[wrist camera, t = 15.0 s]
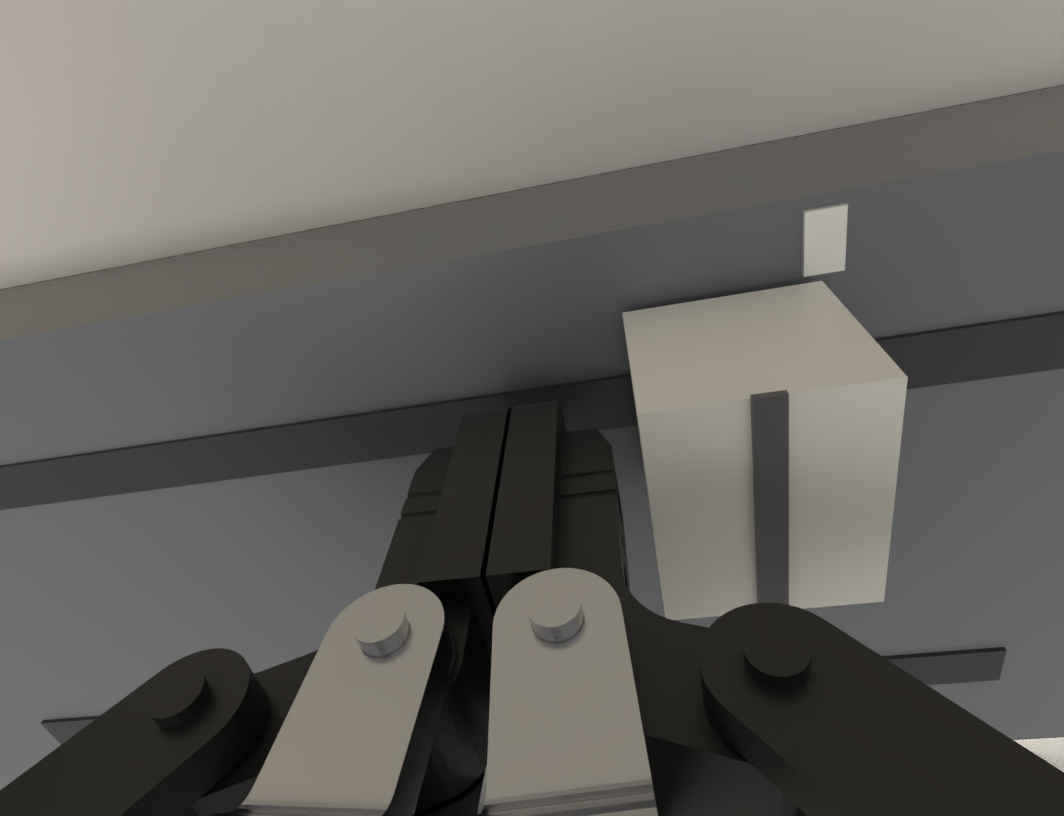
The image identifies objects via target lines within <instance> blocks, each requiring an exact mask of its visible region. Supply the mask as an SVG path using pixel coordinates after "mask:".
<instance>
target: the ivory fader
mask: <svg viewBox="0 0 1064 816" xmlns="http://www.w3.org/2000/svg"><path fill="white" fill-rule="evenodd" d="M622 315H623V322H624V329H625V336H626V344H627V351H628V358H629V365H630V373H631V380H632V387H633V394H634V401H635V409H636V416H637V423H638V430H639V437H640V445H641V452H642V459H643V466H644V473H645V481H646V488H647V495H648V502H649V509H650V516H651V523H652V529H653V536H654V543H655V550H656V557H657V564H658V571H659V578H660V585H661V592H662V599H663V606H664V612H665V618H668V619H671V620H680V619H692V618H703V617H715V616H722V615H723V614H725V613H726V612H728V611H731V610H733V609H735V608H737V607H741V606H744V605H748V604H754V603H780V604H787V605H791V606H795V607H799V608H802V609H806V608H817V607H828V606H840V605H851V604H862V603H874V602H884V597H885V587H886V578H887V568H888V559H889V550H890V540H891V531H892V521H893V512H894V503H895V493H896V484H897V474H898V465H899V455H900V446H901V437H902V427H903V418H904V408H905V399H906V389H907V380H908V377H907V376H906V375H905V373H904V372H903V371H902V370H901V369H900V368H899V367H898V366H897V364H896V363H895V362H894V361H893V360H892V359H891V358H890V357H889V355H888V354H887V353H886V352H885V351H884V350H883V349H882V348H881V346H880V345H879V344H878V343H877V342H876V341H875V340H874V339H873V337H872V336H871V335H870V334H869V333H868V332H867V331H866V330H865V328H864V327H863V326H862V325H861V324H860V323H859V322H858V321H857V319H856V318H855V317H854V316H853V315H852V314H851V313H850V312H849V310H848V309H847V308H846V307H845V306H844V305H843V304H842V303H841V301H840V300H839V299H838V298H837V297H836V296H835V295H834V294H833V292H832V291H831V290H830V289H829V288H828V287H827V286H826V285H825V283H824V282H823V281H817V282H811V283H805V284H798V285H792V286H786V287H780V288H773V289H767V290H761V291H754V292H748V293H742V294H736V295H729V296H723V297H717V298H711V299H704V300H698V301H692V302H686V303H679V304H673V305H667V306H661V307H654V308H648V309H642V310H635V311H629V312H623V313H622Z"/></svg>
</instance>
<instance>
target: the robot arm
mask: <svg viewBox="0 0 1064 816" xmlns="http://www.w3.org/2000/svg"><path fill="white" fill-rule="evenodd" d="M407 496H408V499H406V500H405V502H404V505H403V508H402V511H401V519H399V520H398V523H397V526H396V529H395V532H394V535H393V538H392V541H391V544H390V546H389V549H388V552H387V555H386V558H385V561H384V564H383V567H382V570H381V573H380V576H379V579H378V582H377V585H376V588H375V590H374V591H371V592H369V593H367V594H365V595H363V596H362V597H360V598H358V599H357V600H355V601H354V602H352V603H351V604H350V605H349V606H347V607H346V608H345V609H344V610H343V611H342V612H341V613H340V614H339V615H338V616H337V617H336V619H335V620H334V621H333V623H332V624H331V626H330V627H329V629H328V631H327V633H326V635H325V637H324V639H323V641H322V643H321V645H320V647H319V649H318V650H316V651H314V652H311V653H309V654H307V655H304V656H301V657H298V658H296V659H293V660H290V661H288V662H285V663H282V664H279V665H277V666H274V667H271V668H268V669H266V670H263V671H260V672H257V673H255V674H254V673H253V671H252V670H251V668H250V667H249V665H248V663H247V662H246V660H245V659H244V658H243V656H241V655H240V654H239V653H237V652H235V651H233V650H230V649H223V648H215V649H207V650H202V651H199V652H196V653H193V654H190V655H188V656H185V657H183V658H181V659H179V660H177V661H175V662H174V663H172V664H170V665H168V666H167V667H166V668H164V669H163V670H161V671H160V672H158V673H157V674H156V675H154V676H153V677H152V678H150V679H149V680H147V681H146V682H145V683H143V684H142V685H141V686H139V687H138V688H137V689H135V690H134V691H133V692H131V693H130V694H129V695H127V696H126V697H125V698H123V699H122V700H121V701H119V702H118V703H117V704H115V705H114V706H113V707H111V708H110V709H109V710H107V711H106V712H105V713H103V714H102V715H101V716H99V717H98V718H97V719H95V720H94V721H92V722H91V723H90V724H88V725H87V726H86V727H84V728H83V729H82V730H80V731H79V732H78V733H76V734H75V735H74V736H72V737H71V738H70V739H68V740H67V741H66V742H64V743H63V744H62V745H60V746H59V747H58V748H56V749H55V750H54V751H52V752H51V753H50V754H48V755H47V756H46V757H44V758H43V759H42V760H40V761H39V762H38V763H36V764H35V765H33V766H32V767H31V768H29V769H28V770H27V771H25V772H24V773H23V774H21V775H20V776H19V777H17V778H16V779H15V780H13V781H12V782H11V783H9V784H8V785H7V786H5V787H4V788H3V789H1V790H0V816H1064V773H1063V772H1062V771H1060V770H1059V769H1057V768H1056V767H1054V766H1053V765H1051V764H1049V763H1048V762H1046V761H1045V760H1043V759H1042V758H1040V757H1038V756H1037V755H1035V754H1034V753H1032V752H1031V751H1029V750H1028V749H1026V748H1024V747H1023V746H1021V745H1020V744H1018V743H1017V742H1015V741H1013V740H1012V739H1010V738H1009V737H1007V736H1006V735H1004V734H1003V733H1001V732H999V731H998V730H996V729H995V728H993V727H992V726H990V725H988V724H987V723H985V722H984V721H982V720H981V719H979V718H978V717H976V716H974V715H973V714H971V713H970V712H968V711H967V710H965V709H963V708H962V707H960V706H959V705H957V704H956V703H954V702H953V701H951V700H949V699H948V698H946V697H945V696H943V695H942V694H940V693H938V692H937V691H935V690H934V689H932V688H931V687H929V686H928V685H926V684H924V683H923V682H921V681H920V680H918V679H917V678H915V677H913V676H912V675H910V674H909V673H907V672H906V671H904V670H903V669H901V668H899V667H898V666H896V665H895V664H893V663H892V662H890V661H888V660H887V659H885V658H884V657H882V656H881V655H879V654H878V653H876V652H874V651H873V650H871V649H870V648H868V647H867V646H865V645H863V644H862V643H860V642H859V641H857V640H856V639H854V638H853V637H851V636H849V635H848V634H846V633H845V632H843V631H842V630H840V629H838V628H837V627H835V626H834V625H832V624H831V623H829V622H828V621H826V620H824V619H823V618H821V617H819V616H817V615H815V614H814V613H812V612H809V611H807V610H804V609H802V608H799V607H795V606H791V605H787V604H780V603H754V604H748V605H744V606H741V607H737V608H735V609H733V610H731V611H728V612H726V613H725V614H723V615H722V616H720V617H719V618H718V619H717V620H716V621H715V622H714V623H713V624H712V625H711V626H710V627H709V628H708V627H703V626H698V625H693V624H688V623H683V622H678V621H674V620H671V619H668V618H665V617H663V616H660V615H658V614H656V613H654V612H652V611H650V610H649V609H647V608H646V607H645V606H643V605H642V604H641V603H639V602H638V601H637V600H636V598H635V597H634V596H633V595H632V594H631V592H630V583H629V573H628V561H627V552H626V540H625V530H624V521H623V514H622V508H621V502H620V495H619V489H618V483H617V477H616V470H615V464H614V458H613V451H612V446H611V445H610V444H609V442H608V441H607V440H606V439H605V438H604V436H603V435H602V434H601V433H600V432H599V431H598V429H597V428H591V429H583V430H576V431H568V432H567V430H566V425H565V420H564V415H563V411H562V407H561V404H560V401H559V400H558V401H551V402H544V403H536V404H529V405H522V406H515V407H512V409H511V408H510V407H508V408H501V409H494V410H487V411H479V412H472V413H465V414H464V415H463V416H462V419H461V423H460V427H459V430H458V434H457V438H456V441H455V445H454V447H446V448H439V449H434V451H433V452H432V453H431V454H430V455H429V456H428V457H427V458H426V459H425V461H424V462H423V463H422V464H421V465H420V466H419V467H418V468H417V469H416V471H415V473H414V476H413V479H412V482H411V485H410V488H409V491H408V494H407Z"/></svg>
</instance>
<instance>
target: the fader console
mask: <svg viewBox="0 0 1064 816" xmlns="http://www.w3.org/2000/svg"><path fill="white" fill-rule="evenodd" d="M817 281H823V282H824V283H825V285H826V286H827V287H828V288H829V289H830V290H831V291H832V292H833V294H834V295H835V296H836V297H837V298H838V299H839V300H840V301H841V303H842V304H843V305H844V306H845V307H846V308H847V309H848V310H849V312H850V313H851V314H852V315H853V316H854V317H855V318H856V319H857V321H858V322H859V323H860V324H861V325H862V326H863V327H864V328H865V330H866V331H867V332H868V333H869V334H870V335H871V336H872V337H873V339H874V340H875V341H876V342H877V343H878V344H879V345H880V346H881V348H882V349H883V350H884V351H885V352H886V353H887V354H888V355H889V357H890V358H891V359H892V360H893V361H894V362H895V363H896V364H897V366H898V367H899V368H900V369H901V370H902V371H903V372H904V373H905V375H906V376H907V377H908V380H907V389H906V399H905V408H904V418H903V427H902V437H901V446H900V455H899V465H898V474H897V484H896V493H895V503H894V512H893V521H892V531H891V540H890V550H889V559H888V568H887V578H886V587H885V597H884V602H874V603H862V604H851V605H840V606H828V607H817V608H806V609H804V610H807V611H809V612H812V613H814V614H815V615H817V616H819V617H821V618H823V619H824V620H826V621H828V622H829V623H831V624H832V625H834V626H835V627H837V628H838V629H840V630H842V631H843V632H845V633H846V634H848V635H849V636H851V637H853V638H854V639H856V640H857V641H859V642H860V643H862V644H863V645H865V646H867V647H868V648H870V649H871V650H873V651H874V652H876V653H878V654H879V655H881V656H882V657H884V658H885V659H887V660H888V661H890V662H892V663H893V664H895V665H896V666H898V667H899V668H901V669H903V670H904V671H906V672H907V673H909V674H910V675H912V676H913V677H915V678H917V679H918V680H920V681H921V682H923V683H924V684H926V685H928V686H929V687H931V688H932V689H934V690H935V691H937V692H938V693H940V694H942V695H943V696H945V697H946V698H948V699H949V700H951V701H953V702H954V703H956V704H957V705H959V706H960V707H962V708H963V709H965V710H967V711H968V712H970V713H971V714H973V715H974V716H976V717H978V718H979V719H981V720H982V721H984V722H985V723H987V724H988V725H990V726H992V727H993V728H995V729H996V730H998V731H999V732H1001V733H1003V734H1004V735H1006V736H1007V737H1009V738H1010V739H1012V740H1020V739H1038V738H1056V737H1064V85H1061V86H1056V87H1051V88H1046V89H1041V90H1035V91H1030V92H1025V93H1020V94H1015V95H1010V96H1004V97H999V98H994V99H989V100H984V101H978V102H973V103H968V104H963V105H958V106H952V107H947V108H942V109H937V110H932V111H926V112H921V113H916V114H911V115H906V116H900V117H895V118H890V119H885V120H880V121H874V122H869V123H864V124H859V125H854V126H848V127H843V128H838V129H833V130H828V131H822V132H817V133H812V134H807V135H802V136H796V137H791V138H786V139H781V140H776V141H770V142H765V143H760V144H755V145H750V146H744V147H739V148H734V149H729V150H724V151H718V152H713V153H708V154H703V155H698V156H692V157H687V158H682V159H677V160H672V161H667V162H661V163H656V164H651V165H646V166H641V167H635V168H630V169H625V170H620V171H615V172H609V173H604V174H599V175H594V176H589V177H583V178H578V179H573V180H568V181H563V182H557V183H552V184H547V185H542V186H537V187H531V188H526V189H521V190H516V191H511V192H505V193H500V194H495V195H490V196H485V197H479V198H474V199H469V200H464V201H459V202H453V203H448V204H443V205H438V206H433V207H427V208H422V209H417V210H412V211H407V212H401V213H396V214H391V215H386V216H381V217H375V218H370V219H365V220H360V221H355V222H349V223H344V224H339V225H334V226H329V227H323V228H318V229H313V230H308V231H303V232H298V233H292V234H287V235H282V236H277V237H272V238H266V239H261V240H256V241H251V242H246V243H240V244H235V245H230V246H225V247H220V248H214V249H209V250H204V251H199V252H194V253H188V254H183V255H178V256H173V257H168V258H162V259H157V260H152V261H147V262H142V263H136V264H131V265H126V266H121V267H116V268H110V269H105V270H100V271H95V272H90V273H84V274H79V275H74V276H69V277H64V278H58V279H53V280H48V281H43V282H38V283H32V284H27V285H22V286H17V287H12V288H6V289H1V290H0V790H1V789H3V788H4V787H5V786H7V785H8V784H9V783H11V782H12V781H13V780H15V779H16V778H17V777H19V776H20V775H21V774H23V773H24V772H25V771H27V770H28V769H29V768H31V767H32V766H33V765H35V764H36V763H38V762H39V761H40V760H42V759H43V758H44V757H46V756H47V755H48V754H50V753H51V752H52V751H54V750H55V749H56V748H58V747H59V746H60V745H62V744H63V743H64V742H66V741H67V740H68V739H70V738H71V737H72V736H74V735H75V734H76V733H78V732H79V731H80V730H82V729H83V728H84V727H86V726H87V725H88V724H90V723H91V722H92V721H94V720H95V719H97V718H98V717H99V716H101V715H102V714H103V713H105V712H106V711H107V710H109V709H110V708H111V707H113V706H114V705H115V704H117V703H118V702H119V701H121V700H122V699H123V698H125V697H126V696H127V695H129V694H130V693H131V692H133V691H134V690H135V689H137V688H138V687H139V686H141V685H142V684H143V683H145V682H146V681H147V680H149V679H150V678H152V677H153V676H154V675H156V674H157V673H158V672H160V671H161V670H163V669H164V668H166V667H167V666H168V665H170V664H172V663H174V662H175V661H177V660H179V659H181V658H183V657H185V656H188V655H190V654H193V653H196V652H199V651H202V650H207V649H215V648H223V649H230V650H233V651H235V652H237V653H239V654H240V655H241V656H243V658H244V659H245V660H246V662H247V663H248V665H249V667H250V668H251V670H252V671H253V673H254V674H255V673H257V672H260V671H263V670H266V669H268V668H271V667H274V666H277V665H279V664H282V663H285V662H288V661H290V660H293V659H296V658H298V657H301V656H304V655H307V654H309V653H311V652H314V651H316V650H318V649H319V647H320V645H321V643H322V641H323V639H324V637H325V635H326V633H327V631H328V629H329V627H330V626H331V624H332V623H333V621H334V620H335V619H336V617H337V616H338V615H339V614H340V613H341V612H342V611H343V610H344V609H345V608H346V607H347V606H349V605H350V604H351V603H352V602H354V601H355V600H357V599H358V598H360V597H362V596H363V595H365V594H367V593H369V592H371V591H374V590H375V588H376V585H377V582H378V579H379V576H380V573H381V570H382V567H383V564H384V561H385V558H386V555H387V552H388V549H389V546H390V544H391V541H392V538H393V535H394V532H395V529H396V526H397V523H398V520H399V519H401V511H402V508H403V505H404V502H405V500H406V499H408V496H407V494H408V491H409V488H410V485H411V482H412V479H413V476H414V473H415V471H416V469H417V468H418V467H419V466H420V465H421V464H422V463H423V462H424V461H425V459H426V458H427V457H428V456H429V455H430V454H431V453H432V452H433V451H434V449H439V448H446V447H454V445H455V441H456V438H457V434H458V430H459V427H460V423H461V419H462V416H463V415H464V414H465V413H472V412H479V411H487V410H494V409H501V408H508V407H510V408H511V409H512V407H515V406H522V405H529V404H536V403H544V402H551V401H558V400H559V401H560V404H561V407H562V411H563V415H564V420H565V425H566V430H567V432H568V431H576V430H583V429H591V428H597V429H598V431H599V432H600V433H601V434H602V435H603V436H604V438H605V439H606V440H607V441H608V442H609V444H610V445H611V446H612V451H613V458H614V464H615V470H616V477H617V483H618V489H619V495H620V502H621V508H622V514H623V521H624V530H625V540H626V552H627V561H628V573H629V583H630V592H631V594H632V595H633V596H634V597H635V598H636V600H637V601H638V602H639V603H641V604H642V605H643V606H645V607H646V608H647V609H649V610H650V611H652V612H654V613H656V614H658V615H660V616H663V617H665V612H664V606H663V599H662V592H661V585H660V578H659V571H658V564H657V557H656V550H655V543H654V536H653V529H652V523H651V516H650V509H649V502H648V495H647V488H646V481H645V473H644V466H643V459H642V452H641V445H640V437H639V430H638V423H637V416H636V409H635V401H634V394H633V387H632V380H631V373H630V365H629V358H628V351H627V344H626V336H625V329H624V322H623V315H622V313H623V312H629V311H635V310H642V309H648V308H654V307H661V306H667V305H673V304H679V303H686V302H692V301H698V300H704V299H711V298H717V297H723V296H729V295H736V294H742V293H748V292H754V291H761V290H767V289H773V288H780V287H786V286H792V285H798V284H805V283H811V282H817ZM719 617H720V616H715V617H703V618H692V619H680V620H674V621H678V622H683V623H688V624H693V625H698V626H703V627H708V628H709V627H710V626H711V625H712V624H713V623H714V622H715V621H716V620H717V619H718V618H719Z"/></svg>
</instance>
